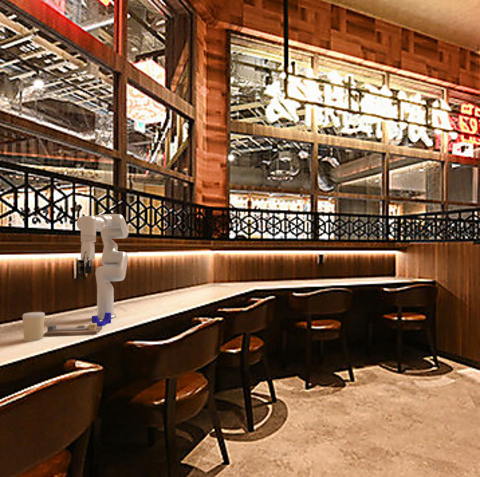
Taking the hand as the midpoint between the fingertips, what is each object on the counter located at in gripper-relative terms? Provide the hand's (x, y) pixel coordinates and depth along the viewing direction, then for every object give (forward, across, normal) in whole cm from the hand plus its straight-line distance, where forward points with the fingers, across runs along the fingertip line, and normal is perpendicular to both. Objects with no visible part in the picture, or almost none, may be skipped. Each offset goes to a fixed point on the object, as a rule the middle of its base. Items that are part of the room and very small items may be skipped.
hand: (88, 273), depth 197 cm
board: (+29, +10, -4) cm, 31 cm away
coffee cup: (+29, +21, -19) cm, 41 cm away
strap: (+27, +10, -5) cm, 30 cm away
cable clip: (+30, -7, +6) cm, 31 cm away
